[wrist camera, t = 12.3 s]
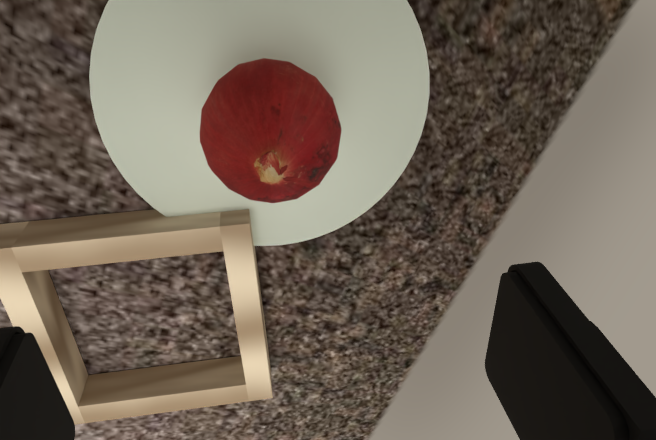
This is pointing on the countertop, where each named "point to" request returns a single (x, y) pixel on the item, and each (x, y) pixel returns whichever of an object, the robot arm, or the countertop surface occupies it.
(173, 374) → the frame
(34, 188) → the countertop surface
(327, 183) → the plate
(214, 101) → the onion
